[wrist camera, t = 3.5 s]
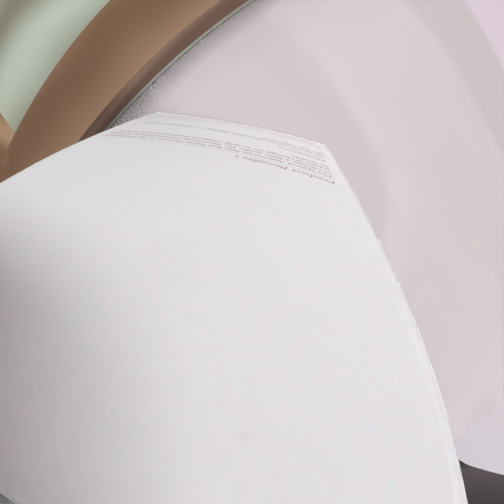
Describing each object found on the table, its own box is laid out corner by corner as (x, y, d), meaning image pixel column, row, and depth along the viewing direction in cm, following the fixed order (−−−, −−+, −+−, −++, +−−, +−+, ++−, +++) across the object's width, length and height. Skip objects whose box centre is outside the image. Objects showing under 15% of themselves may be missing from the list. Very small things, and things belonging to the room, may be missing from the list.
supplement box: (143, 256, 15) (12, 490, 4) (154, 107, 11) (-166, 305, 1) (286, 290, 15) (267, 572, 5) (334, 144, 11) (498, 554, 1)
